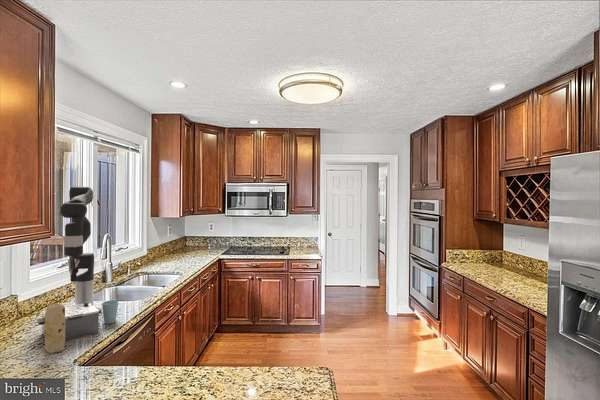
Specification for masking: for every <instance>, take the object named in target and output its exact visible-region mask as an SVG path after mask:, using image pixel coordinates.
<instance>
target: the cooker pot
mask: <svg viewBox="0 0 600 400" xmlns="http://www.w3.org/2000/svg"><path fill="white" fill-rule="evenodd" d="M97 309H98V310H99V313H95V314H90V315H85V316H82V318H79V319H74V320H69V319H65V342H67V341H72V340H76V339H81V338H84V337H90V336H93V335H97V334H99V323H100V321H99V317H100V316H99V315H100V314H103V310H101V309H100V308H99V307H97ZM41 314H42V313H41ZM36 322H37V324H38V325H39V326H42V327H41V328H42V331H41V332H42V335H44V336H43V338H45V317H44V315H43V314H42V318H38V319H36Z"/></svg>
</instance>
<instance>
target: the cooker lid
mask: <svg viewBox="0 0 600 400" xmlns="http://www.w3.org/2000/svg"><path fill="white" fill-rule="evenodd" d="M64 307H65V319H69V320H74V319H79V318H82V316H85V315H90V314H95V313H99V310H98V309H97V308H98V307H97V308H96V306H95V305H92V304H91V303H88V302H86V303H84V304H78V305H75V304H74V305H68V306H64ZM46 310H47V309H44V310H41V314H43V315H44V317H45V312H46ZM99 314H100V313H99Z"/></svg>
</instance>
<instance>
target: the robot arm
mask: <svg viewBox="0 0 600 400" xmlns="http://www.w3.org/2000/svg"><path fill="white" fill-rule="evenodd" d="M68 196H69V200H68V201H65V202H63V203H62V204H61V206H60V209H59V210H60V211H59V212H60V215H61V216H62V217H63V218H65V219H71V222H69V223H65V225H64V240H63V242H64V243H63V250H64V251H63V255H64V256H65V257H69V258H67V263H68V264H67V265H68V271H69V274H70V279H69V280H70V282H71V283H74V284H75V285H74V286H75V291H74V292H75V296H74V297H75V301H74V302H75V304H74V305H78V304H84V303H86V302H88V303H91V304H92V305H93V306H95V305H94V295H95V293H94V290H95V289H94V288H95V284H94V282H95V280H94V279H95V278H94V277H95V275H94V274H95V273H94V272H95V269H94V268H95V254H94V253H93V252H84V244H85V243H86V242H87V241H88V240H89V238H90V236H91V233H92V230H91V221H90V220H89V218H88V217H87V216H86V215H87V212H88V208H87V205H89V204H91V203H92V201H93V199H94V190H93V188H92V187H89V186H74V185H73V186H71V187H70V188H69V193H68ZM85 269H86V270H85ZM79 270H85V271H84V272H82V273H80V274H79Z"/></svg>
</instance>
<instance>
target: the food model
mask: <svg viewBox="0 0 600 400" xmlns="http://www.w3.org/2000/svg"><path fill="white" fill-rule="evenodd" d="M65 307H66V306H64V305H63V304H61V303H55V302H54V303H51V304H49V305H47V307H46V308H47V309H45V310H46V312H45V337H44V347H45V351H46V353H48V354H54V353H59V352H62V351H63V350H64V349H65V344H66V341H65Z"/></svg>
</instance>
